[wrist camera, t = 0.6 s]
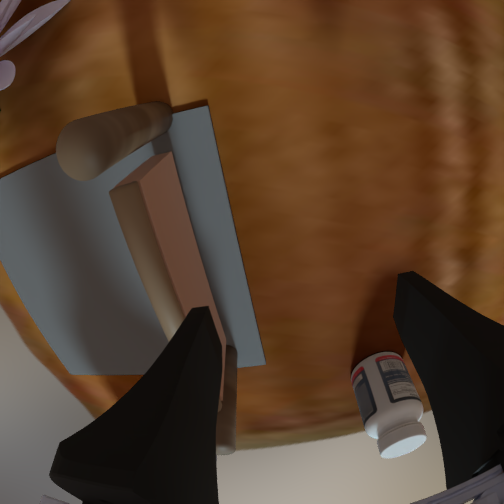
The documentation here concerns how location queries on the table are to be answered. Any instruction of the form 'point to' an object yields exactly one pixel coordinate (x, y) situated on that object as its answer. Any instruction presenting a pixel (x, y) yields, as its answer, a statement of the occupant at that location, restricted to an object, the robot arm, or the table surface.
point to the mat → (119, 255)
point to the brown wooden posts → (108, 154)
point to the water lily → (21, 31)
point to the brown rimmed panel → (164, 245)
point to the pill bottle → (389, 404)
